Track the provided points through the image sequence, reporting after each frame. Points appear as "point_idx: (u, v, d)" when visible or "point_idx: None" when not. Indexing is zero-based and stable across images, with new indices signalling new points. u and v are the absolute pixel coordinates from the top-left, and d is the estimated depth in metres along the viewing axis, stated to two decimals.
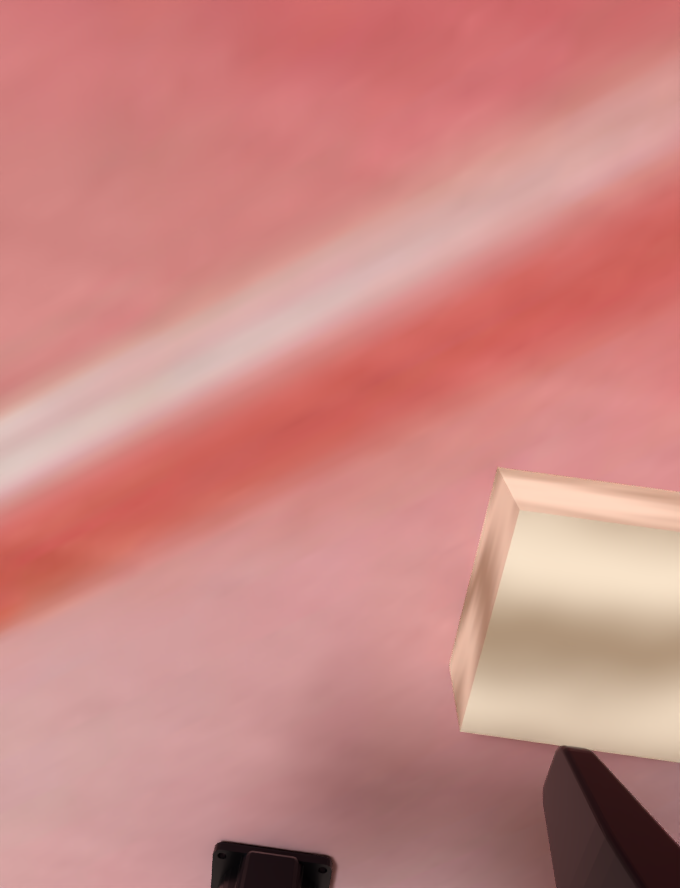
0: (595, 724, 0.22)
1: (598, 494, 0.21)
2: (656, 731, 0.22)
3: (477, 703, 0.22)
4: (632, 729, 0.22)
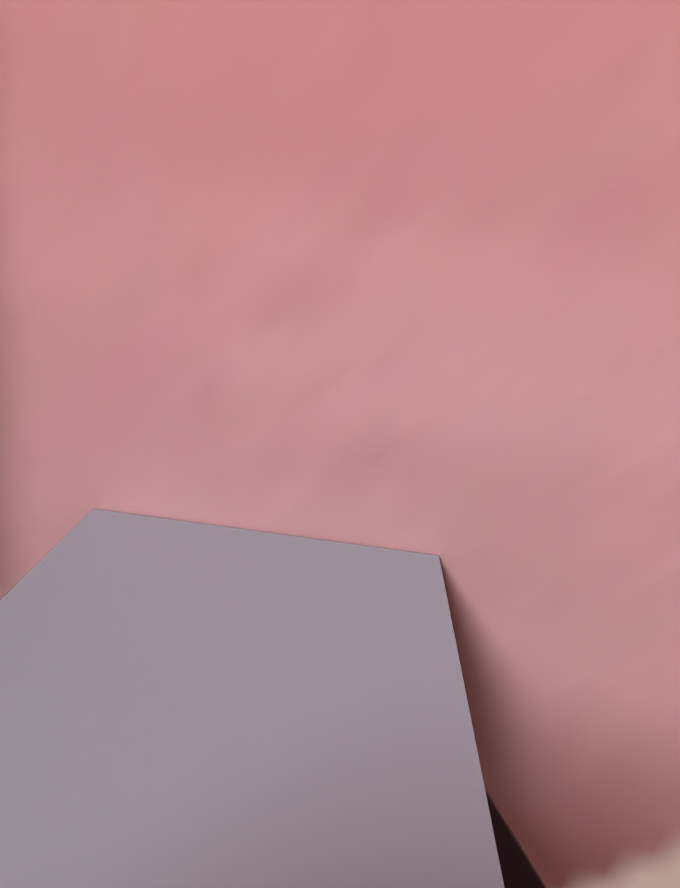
0: None
1: None
2: None
3: None
4: None
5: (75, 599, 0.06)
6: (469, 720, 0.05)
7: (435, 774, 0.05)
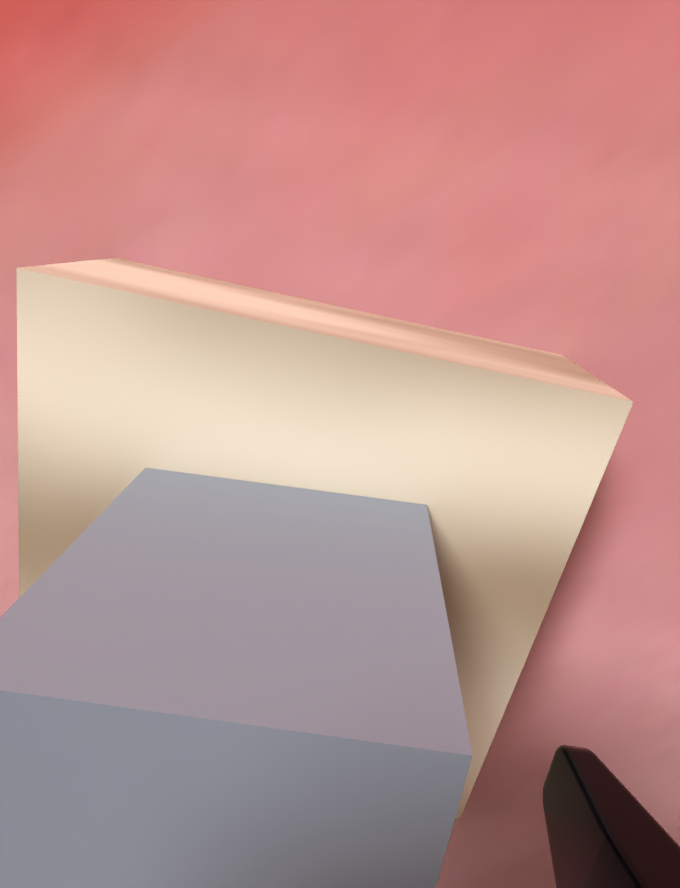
0: None
1: (261, 298, 0.11)
2: None
3: None
4: None
5: (143, 528, 0.08)
6: (444, 609, 0.07)
7: (417, 638, 0.07)
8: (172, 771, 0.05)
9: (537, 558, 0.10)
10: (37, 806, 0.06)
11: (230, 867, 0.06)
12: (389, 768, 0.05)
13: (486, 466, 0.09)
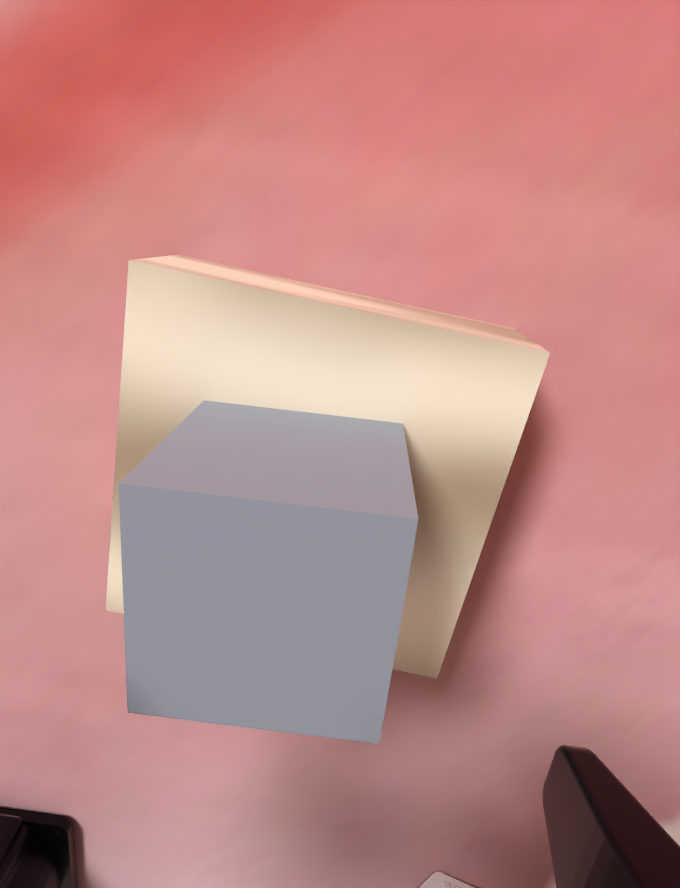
0: None
1: (290, 284, 0.15)
2: None
3: (121, 569, 0.16)
4: None
5: (212, 429, 0.12)
6: (409, 469, 0.11)
7: (391, 479, 0.11)
8: (248, 539, 0.10)
9: (488, 467, 0.14)
10: (167, 567, 0.10)
11: (279, 607, 0.10)
12: (373, 529, 0.09)
13: (450, 399, 0.14)
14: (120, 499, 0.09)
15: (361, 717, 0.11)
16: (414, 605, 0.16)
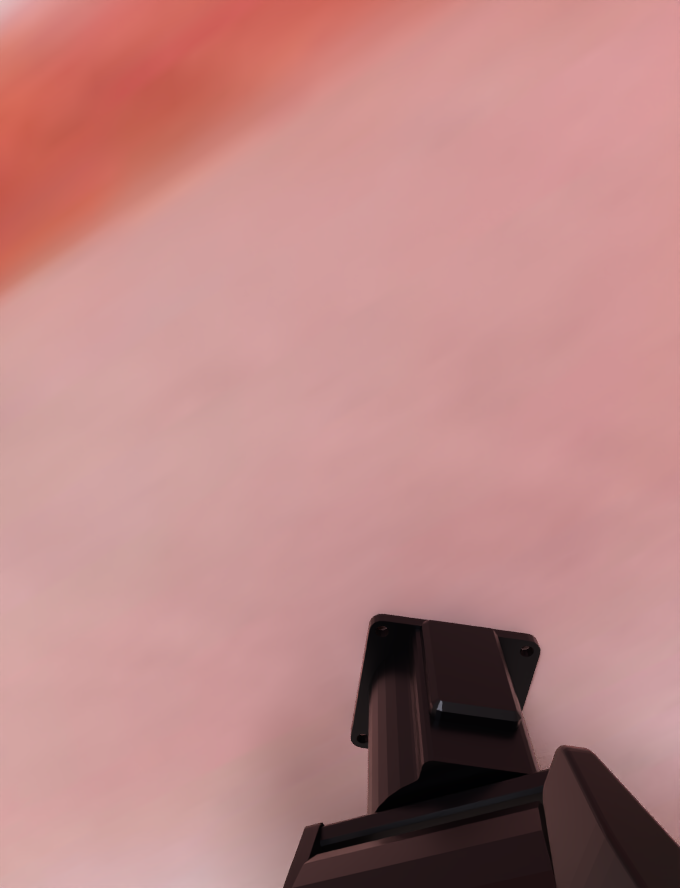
0: None
1: None
2: None
3: None
4: None
5: None
6: None
7: None
8: None
9: None
10: None
11: None
12: None
13: None
14: None
15: None
16: None
